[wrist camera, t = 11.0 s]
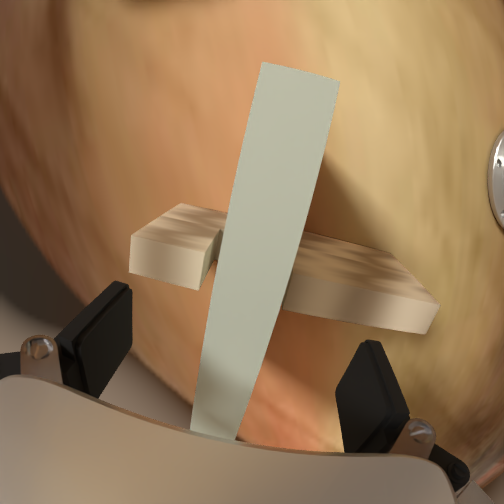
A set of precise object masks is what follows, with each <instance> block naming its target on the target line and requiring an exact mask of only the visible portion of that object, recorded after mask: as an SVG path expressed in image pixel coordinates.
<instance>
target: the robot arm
mask: <svg viewBox="0 0 504 504" xmlns="http://www.w3.org/2000/svg"><path fill="white" fill-rule="evenodd" d="M488 191H489V198H490V203H491V207H492V210H493V213H494V216H495V218H496V219H497V221H498V223H499V224H500V225H501V227H502V228H503V229H504V131H503V132H502V133H501V134H500V135H499V136H498V138H497V140H496V141H495V143H494V146H493V149H492V151H491V156H490V160H489V168H488ZM131 346H132V289H129V285H128V284H125V283H122V282H119V281H114V282H113V283H111V284H110V285H109V286H108V287H107V288H106V289H105V290H104V291H103V292H102V293H101V294H100V295H99V296H98V297H96V298H95V299H94V300H93V301H92V302H91V303H90V304H89V305H88V306H87V307H85V308H84V309H83V310H82V311H81V312H80V313H79V314H78V315H77V316H76V317H75V318H74V319H73V320H72V321H71V322H70V323H69V324H68V325H67V326H66V327H65V328H64V329H63V330H62V331H61V332H60V333H59V334H58V335H57V336H56V337H55V338H54V339H52V338H50V337H49V336H45V335H35V336H32V337H30V338H27V339H26V340H25V341H24V342H23V344H22V346H21V351H20V352H12V353H5V354H0V504H495V503H494V502H493V501H492V500H491V499H490V498H489V497H488V496H487V495H486V493H485V492H483V490H482V489H481V488H480V487H479V486H478V485H477V484H476V483H475V482H474V481H473V480H472V481H471V482H470V481H469V478H470V472H469V469H468V467H467V466H466V464H465V463H464V462H462V461H461V460H459V459H458V458H456V457H455V456H453V455H452V454H450V453H448V452H447V451H445V450H444V449H442V448H441V447H439V446H438V445H436V444H435V440H436V433H435V430H434V428H433V427H432V426H431V425H430V424H429V423H428V422H427V421H425V420H423V419H419V418H414V419H411V420H410V417H409V414H410V412H409V409H408V407H407V404H406V402H405V399H404V396H403V394H402V391H401V389H400V387H399V384H398V382H397V379H396V377H395V374H394V372H393V370H392V367H391V365H390V363H389V360H388V358H387V356H386V353H385V351H384V349H383V347H382V344H381V343H380V342H379V341H374V340H366V341H365V342H362V343H361V344H360V345H359V347H358V349H357V351H356V353H355V355H354V357H353V359H352V361H351V362H350V364H349V366H348V368H347V370H346V372H345V373H344V375H343V377H342V379H341V381H340V382H339V384H338V386H337V388H336V391H335V396H336V402H337V408H338V414H339V420H340V426H341V432H342V439H343V445H344V452H345V453H340V452H320V451H307V450H296V449H287V448H279V447H271V446H264V445H258V444H252V443H246V442H240V441H235V440H230V439H225V438H220V437H216V436H211V435H207V434H203V433H199V432H195V431H191V430H187V429H184V428H180V427H177V426H173V425H170V424H166V423H163V422H160V421H157V420H154V419H151V418H148V417H144V416H142V415H139V414H136V413H133V412H130V411H128V410H125V409H123V408H120V407H117V406H115V405H112V404H110V403H107V402H105V401H102V400H100V399H98V398H99V396H100V394H101V393H102V392H103V390H104V389H105V387H106V385H107V384H108V382H109V381H110V379H111V378H112V376H113V374H114V373H115V371H116V370H117V368H118V366H119V365H120V364H121V362H122V360H123V359H124V357H125V356H126V354H127V353H128V351H129V350H130V348H131Z"/></svg>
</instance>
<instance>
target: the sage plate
mask: <svg viewBox="0 0 504 504" xmlns="http://www.w3.org/2000/svg"><path fill="white" fill-rule="evenodd" d="M339 85H340V81H337V80H334V79H331V78H327V77H324V76H320V75H317V74H313V73H309V72H306V71H302V70H298V69H294V68H289V67H285V66H281V65H276V64H271V63H266V62H262V66H261V69H260V73H259V77H258V81H257V86H256V90H255V94H254V98H253V102H252V106H251V110H250V114H249V119H248V123H247V127H246V132H245V136H244V140H243V145H242V149H241V154H240V158H239V163H238V167H237V172H236V176H235V181H234V186H233V190H232V195H231V200H230V204H229V209H228V214H227V219H226V224H225V229H224V234H223V239H222V244H221V249H220V254H219V259H218V264H217V270H216V275H215V280H214V286H213V291H212V297H211V302H210V308H209V313H208V319H207V325H206V330H205V336H204V342H203V348H202V354H201V360H200V366H199V373H198V379H197V385H196V392H195V399H194V405H193V413H192V420H191V426H190V430H191V431H195V432H199V433H203V434H207V435H211V436H216V437H220V438H225V439H230V440H235V437H236V435H237V432H238V429H239V427H240V424H241V421H242V418H243V416H244V413H245V410H246V407H247V405H248V402H249V399H250V396H251V393H252V391H253V388H254V385H255V382H256V379H257V376H258V373H259V370H260V368H261V365H262V362H263V359H264V356H265V353H266V350H267V347H268V344H269V341H270V338H271V335H272V332H273V328H274V325H275V322H276V319H277V316H278V313H279V310H280V306H281V303H282V300H283V297H284V294H285V290H286V287H287V284H288V281H289V277H290V274H291V271H292V267H293V264H294V260H295V257H296V254H297V250H298V247H299V243H300V240H301V236H302V233H303V229H304V226H305V222H306V218H307V215H308V211H309V207H310V204H311V200H312V196H313V193H314V189H315V185H316V181H317V177H318V173H319V170H320V166H321V162H322V158H323V154H324V150H325V146H326V141H327V137H328V133H329V129H330V125H331V121H332V116H333V112H334V107H335V103H336V99H337V94H338V90H339Z"/></svg>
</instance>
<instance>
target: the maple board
mask: <svg viewBox="0 0 504 504" xmlns="http://www.w3.org/2000/svg"><path fill="white" fill-rule="evenodd" d="M227 214H228V213H225V212H220V211H216V210H211V209H207V208H202V207H197V206H192V205H188V204H183V203H180V204H179V205H177V206H175V207H174V208H172V209H171V210H169V211H167V212H166V213H164V214H163V215H161V216H160V217H158V218H157V219H155V220H153V221H152V222H150V223H149V224H147V225H146V226H144V227H143V228H141V229H140V230H138V231H137V232H135V233H134V234H132V235H131V247H130V264H129V272H130V273H134V274H138V275H141V276H145V277H148V278H152V279H156V280H160V281H163V282H167V283H171V284H175V285H179V286H183V287H187V288H191V289H195V290H199V289H200V287H201V285H202V283H203V281H204V279H205V277H206V275H207V273H208V271H209V269H210V267H211V265H212V263H213V261H214V260H218V259H219V254H220V249H221V244H222V239H223V234H224V229H225V224H226V219H227ZM439 307H440V304H439V303H438V302H437V301H436V300H435V298H434V297H433V296H432V295H431V294H430V293H429V292H428V291H427V290H426V289H425V288H424V287H423V286H422V285H421V283H420V282H419V281H418V280H417V279H416V278H415V277H414V276H413V275H412V274H411V273H410V272H409V271H408V270H407V269H406V268H405V267H404V266H403V265H402V264H401V263H400V262H399V261H398V260H397V259H396V258H395V257H394V256H393V255H392V254H391V253H387V252H384V251H380V250H376V249H373V248H369V247H365V246H361V245H357V244H354V243H350V242H346V241H342V240H338V239H334V238H330V237H326V236H322V235H318V234H314V233H310V232H306V231H303V233H302V236H301V240H300V243H299V247H298V250H297V254H296V257H295V260H294V264H293V267H292V271H291V274H290V277H289V281H288V284H287V287H286V290H285V294H284V297H283V300H282V310H287V311H291V312H296V313H301V314H306V315H311V316H317V317H322V318H327V319H332V320H338V321H343V322H349V323H355V324H361V325H366V326H372V327H378V328H385V329H391V330H398V331H404V332H411V333H418V334H426V332H427V331H428V329H429V327H430V325H431V323H432V321H433V319H434V317H435V315H436V313H437V311H438V309H439Z"/></svg>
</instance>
